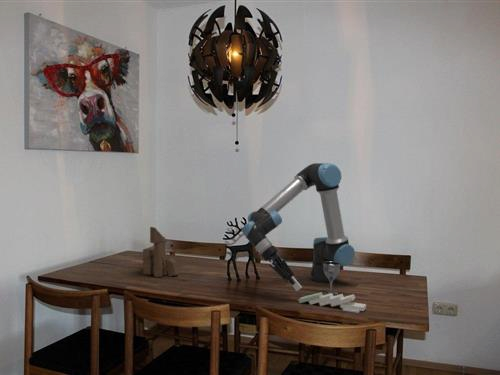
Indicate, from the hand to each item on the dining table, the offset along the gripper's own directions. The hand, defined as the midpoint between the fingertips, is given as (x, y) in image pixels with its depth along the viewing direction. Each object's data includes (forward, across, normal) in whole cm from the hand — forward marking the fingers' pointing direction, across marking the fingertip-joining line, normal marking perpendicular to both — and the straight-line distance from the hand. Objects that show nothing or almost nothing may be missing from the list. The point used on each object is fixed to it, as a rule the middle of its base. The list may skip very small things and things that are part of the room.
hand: (299, 289), depth 210 cm
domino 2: (+7, 0, 0) cm, 7 cm away
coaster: (+21, 0, +13) cm, 25 cm away
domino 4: (+14, 0, +8) cm, 16 cm away
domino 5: (+17, 0, +11) cm, 20 cm away
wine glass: (+11, -20, +2) cm, 23 cm away
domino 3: (+11, 0, +4) cm, 11 cm away
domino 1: (+4, 0, -3) cm, 5 cm away
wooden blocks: (-57, -16, -66) cm, 88 cm away
